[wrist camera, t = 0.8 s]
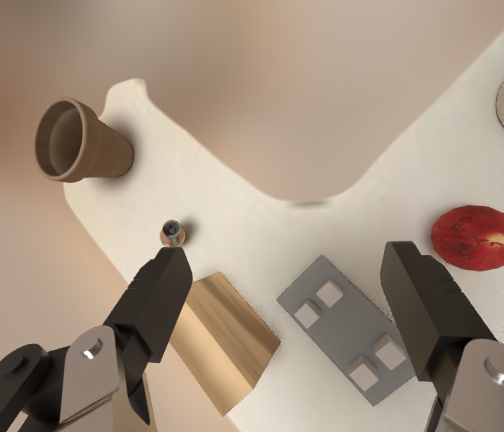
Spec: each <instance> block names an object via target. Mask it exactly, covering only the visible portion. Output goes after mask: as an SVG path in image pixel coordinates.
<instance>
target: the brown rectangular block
mask: <svg viewBox="0 0 504 432" xmlns="http://www.w3.org/2000/svg"><path fill="white" fill-rule="evenodd" d="M169 342H170V343H171V345H172V346H173V348H174V349H175V350H176V352H177V353H178V355H179V356H180V357H181V359H182V360H183V362H184V363H185V364H186V366H187V367H188V369H189V370H190V372H191V373H192V374H193V375H194V377H195V379H196V380H197V381H198V383H199V384H200V385H201V387H202V388H203V390H204V391H205V393H206V394H207V396H208V397H209V398H210V400H211V401H212V403H213V404H214V405H215V407H216V408H217V410H218V411H219V412H220V414H221V415H222V416H224V415H226V414H227V413H228V412H229V411H230V410H231V409H232V408H233V407H234V406H236V405H237V404H238V403H239V402H240V401H241V400H242V399H243V398H244V397H245V396H247V395H248V394H249V393H250V392H251V391H252V390H253V389H254V387H255V386H256V384H257V382H258V380H259V379H260V377H261V375H262V373H263V372H264V370H265V368H266V367H267V365H268V363H269V361H270V360H271V358H272V356H273V354H274V353H275V351H276V349H277V347H278V346H279V344H280V342H281V341H280V340H279V339H278V338H277V337H276V336H275V334H274V333H273V332H272V331H271V330H270V329H269V327H268V326H267V325H266V324H265V323H264V322H263V320H262V319H261V318H260V317H259V316H258V315H257V314H256V312H255V311H254V310H253V309H252V308H251V307H250V305H249V304H248V303H247V302H246V301H245V300H244V298H243V297H242V296H241V295H240V294H239V293H238V292H237V290H236V289H235V288H234V287H233V286H232V285H231V283H230V282H229V281H228V280H227V279H226V278H225V276H224V275H223V274H222V273H221V272H220V273H217V274H214V275H211V276H209V277H206V278H203V279H201V280H198V281H195V282H192V286H191V288H190V291H189V293H188V296H187V298H186V301H185V303H184V305H183V308H182V310H181V313H180V315H179V318H178V320H177V323H176V325H175V327H174V330H173V332H172V335H171V337H170V340H169Z"/></svg>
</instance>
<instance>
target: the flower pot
mask: <svg viewBox="0 0 504 432" xmlns="http://www.w3.org/2000/svg"><path fill="white" fill-rule="evenodd" d="M33 154H34V159H35V163H36V165H37V167H38V169H39V171H40V172H41V173H42V175H43V176H45V177H46V178H48V179H50V180H53V181H61V182H68V183H73V182H77V181H80V180H82V179H83V178H89V177H115V176H121V175H123V174H125V173H126V172H127V171H128V170H129V168H130V167H131V164H132V161H133V149H132V146H131V145H130V143H129V142H128V141H127V140H126V139H125V138H123V137H122V136H121V135H119V134H118V133H117V132H115V131H114V130H113V129H111V128H110V127H108V126H107V125H106V124H104V123H103V122H101V121H100V120H99V119H98V117H97V116H96V114H95V113H94V111H93V110H92V109H91V108H89V107H88V106H86V105H84V104H82V103H80V102H78V101H76V100H74V99H72V98H69V97H62V98H58V99H56V100H55V101H53V102H52V103H51V104H49V106H48V107H47V108H46V109H45V110H44V111H43V113H42V115H41V117H40V118H39V121H38V123H37V126H36V129H35V134H34V138H33Z"/></svg>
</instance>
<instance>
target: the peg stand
mask: <svg viewBox="0 0 504 432" xmlns="http://www.w3.org/2000/svg"><path fill="white" fill-rule="evenodd" d="M277 301H278V302H279V303H280V304H281V306H282V307H283V308H284V309H285V310H286V311H287V312H288V313H289V314H290V315H291V317H292V318H293V319H294V320H295V321H296V322H297V323H298V324H299V325H300V326H301V327H302V329H303V330H304V331H305V332H306V333H307V334H308V335H309V336H310V337H311V338H312V340H313V341H314V342H315V343H316V344H317V345H318V346H319V347H320V348H321V349H322V351H323V352H324V353H325V354H326V355H327V356H328V357H329V358H330V359H331V360H332V362H333V363H334V364H335V365H336V366H337V367H338V368H339V369H340V370H341V371H342V372H343V374H344V375H345V376H346V377H347V378H348V379H349V380H350V381H351V382H352V383H353V385H354V386H355V387H356V388H357V389H358V390H359V391H360V392H361V393H362V394H363V396H364V397H365V398H366V399H367V400H368V401H369V402H370V403H371V404H372V405H373V407H374V406H375V405H376V404H378V403H379V402H380V401H382V400H383V399H384V398H386V397H387V396H388V395H390V394H391V393H392V392H394V391H395V390H396V389H398V388H399V387H400V386H402V385H403V384H404V383H406V382H407V381H408V380H410V379H411V378H412V377H414V376H415V375H416V373H415V371H414V368H413V366H412V363H411V360H410V358H409V355H408V353H407V350H406V348H405V345H404V342H403V340H402V337H401V335H400V332H399V329H398V327H397V326H396V325H395V324H394V323H393V322H392V321H391V320H389V319H388V318H387V317H386V316H385V315H384V314H383V313H382V312H381V311H380V310H379V309H378V308H377V307H376V306H375V305H374V304H373V303H372V302H371V301H370V300H368V299H367V298H366V297H365V296H364V295H363V294H362V293H361V292H360V291H359V290H358V289H357V288H356V287H355V286H354V285H353V284H352V283H351V282H350V281H349V280H348V279H346V278H345V277H344V276H343V275H342V274H341V273H340V272H339V271H338V270H337V269H336V268H335V267H334V266H333V265H332V264H331V263H330V262H329V261H328V260H327V259H326V258H324V257H323V256H322V255H321V256H320V257H319V258H318V259H317V260H316V261H315V262H314V263H313V264H312V265H311V266H310V267H309V268H308V269H307V270H306V271H305V272H304V273H303V274H302V275H301V276H300V277H299V278H298V279H297V280H296V281H295V282H294V283H293V284H292V285H291V286H290V287H289V288H288V289H287V290H286V291H285V292H284V293H283V294H282V295H281V296H280V297H279V298H278V299H277Z"/></svg>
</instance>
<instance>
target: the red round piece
mask: <svg viewBox="0 0 504 432" xmlns="http://www.w3.org/2000/svg"><path fill="white" fill-rule="evenodd" d="M431 240H432V243H433V246H434V249H435V251H436V252H437V253H438V254H439V255H440V256H441V257H442V258H443V259H444V260H445V261H446V262H447V263H450V264H452V265H454V266H456V267H459V268H461V269H465V270H473V271H486V270H491V269H496V268H499V267H501V266H503V265H504V213H502V212H499V211H497V210H495V209H493V208H490V207H487V206H473V205H467V206H463V207H459V208H455V209H453V210H451V211H449V212H448V213H446V214H444V215H442V216H441V217H440V218H439V220H438V221H437V222H436V223H435V225H434V226H433V230H432V234H431Z"/></svg>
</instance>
